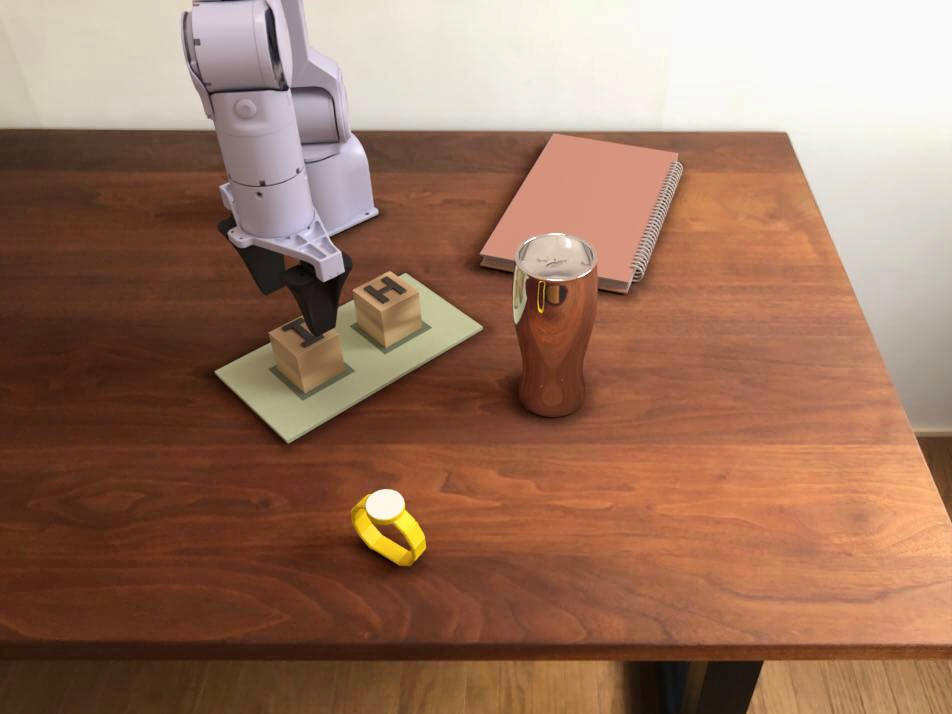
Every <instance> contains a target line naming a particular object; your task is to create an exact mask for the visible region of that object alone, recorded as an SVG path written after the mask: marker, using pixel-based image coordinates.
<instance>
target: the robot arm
mask: <svg viewBox="0 0 952 714" xmlns="http://www.w3.org/2000/svg"><path fill="white" fill-rule="evenodd" d="M191 1H192V6H191V11H187V10H184V11H182V12H181V15H180V37H181V45H182V52H183V56H184V59H185V64H186V66H187V71H188V73H189V76H190V79H191V82H192V84H193V86H194V88H195V90H196V92H197V94H198V95H199V97H200V101H201V104H202V108H203V111H204V115H205V116H206V119H208V120H211V121H212V123H213V126H214V131H215V134H216V138H217V141H218V146H219V148H220V153H221V157H222V160H223V165H224V167H225V172H226V175H227V181H228V182H226V183H223V184H222V185H219V186H218V189H219V193H220V196H221V199H222V203H223V207H224V208H226V209H227V210H228V211H231V213H230V217H227V218H225V219H222V220H220V221H219V222H218V223H217V226H216V228H217V231H218V232H219V233H220V234H221V235H222V236H223V237H224V238H225V239H226V240H227V241H228V242H229V243H230V244H231V245H232V248H234V249H235V251H236V252H237V254H238V255H239V257H240V258H241V260H242V261H243V263H244V264H245V267H246V268H247V270H248V272H249V273H250V276H251V277H252V279H253V281H254V283H255V284H256V286H257V288H258V289H259V291H260V292H261V294H263V295H264V296H265V297H267V296H269V295H272V294H273V293H275V292H277V291H279V290H281V289H283V288H285V287H286V288H287V289H288V290H289V292H290V293H291V295H292V296H293V298H294V299H295V301H296V303H297V305H298V307H299V309H300V313H301V316H302V315H303V318H304V321H305V323H306V326H307V327H308V329H309V331H310V332H311V334H312V335H314V336H315V337H318V336H320V335H322V334H324V333H326V332H328V331H330V330H332V329H334V328H335V327H336V320H337V312H338V307H339V303H340V299H341V293H342V291H343V287H344V285H345V283H346V281H347V278H348V277H349V275H350V273H351V271H352V270H353V268H354V263H353V259H352V257H351V256H350V255H349V254H347V253H346V252H344V251H343V250H342V249H339V248H338V247H337V246H336V245H334V243H333V242H332V240H331V238H330V237H333V236H335V235H338V234H339V233H341V232H344V231H345V230H348V229H350V228H352V227H355V226H356V225H358V224H361V223H363V222H365V221H367V220H369V219H371V218H373V217H377V216H378V215H379V213H380V212H379V209H378V208H376V207H375V202H374V196H373V187H372V180H371V173H370V166H369V160H368V157H367V154H366V152H365V149H364V147H363V145H362V143H361V142H360V140H359V139H358V137H357V136H356V135H355V134H354V133H353V132H352V125H351V124H352V123H351V114H350V106H349V99H348V93H347V88H346V85H345V83H344V75H343V70H342V68H340V65H339V63H338V62H336V61H335V60H334V59H332V58H331V57H329V56H327V55H325V54H323V53H322V52H320V51H319V50H317V49H315V48H314V47H313V46H311V43H310V37H309V32H308V26H307V25H308V24H307V18H306V13H305V7H304V1H303V0H191ZM285 256H287V257H290V258H293V259H296V260H299V263H298V264H296V265H293V266H291V267H290V268H287V269H286V263H285Z"/></svg>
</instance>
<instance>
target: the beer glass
mask: <svg viewBox="0 0 952 714" xmlns="http://www.w3.org/2000/svg"><path fill="white" fill-rule="evenodd" d="M597 261H598V255H597V252H596V250H595V248H594V247H593V246H592V245H591V244H590V243H589V242H588V241H586V240H585V239H583V238H581V237H578V236H576V235H572V234H568V233H560V232H549V233H542V234H537V235H534V236H532V237H529V238H527V239H526V240H524V241H523V242H521V243H520V244H519V245H518V247H517V248H516V250H515V253H514V270H513V272H512V280H511V281H512V283H511V286H512V287H511V307H512V316H513V323H514V330H515V333H516V337H517V343H518V346H519V351H520V355H521V360H522V361H521V364H522V365H521V366H522V367H521V373H520V378H519V382H518V388H517V397H518V400H519V402H520V404H521V405H522V406H523V408H525V409H526V410H527V411H529V412H530V413H533V414H535V415H537V416H540V417H545V418H560V417H565V416H568V415H570V414H572V413H575V412H576V411H577V410H578V409H579V408H581V407H582V406H583V404H584V402H585V401H586V396H587V390H586V383H585V378H584V361H585V357H586V353H587V349H588V346H589V343H590V339H591V336H592V332H593V330H594V325H595V320H596V316H597V309H598V301H599V300H598V299H599V298H598V297H599V289H598V268H597Z"/></svg>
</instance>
